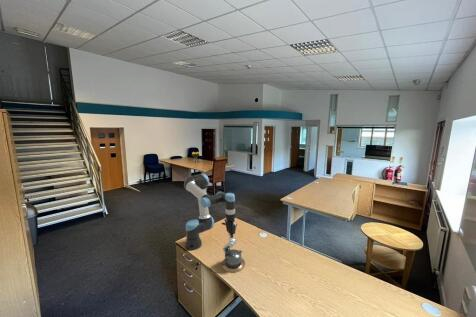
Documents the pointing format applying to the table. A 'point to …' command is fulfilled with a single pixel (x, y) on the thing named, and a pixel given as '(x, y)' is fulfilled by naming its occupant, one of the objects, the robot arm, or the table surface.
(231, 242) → the lid
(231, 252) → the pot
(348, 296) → the table surface
